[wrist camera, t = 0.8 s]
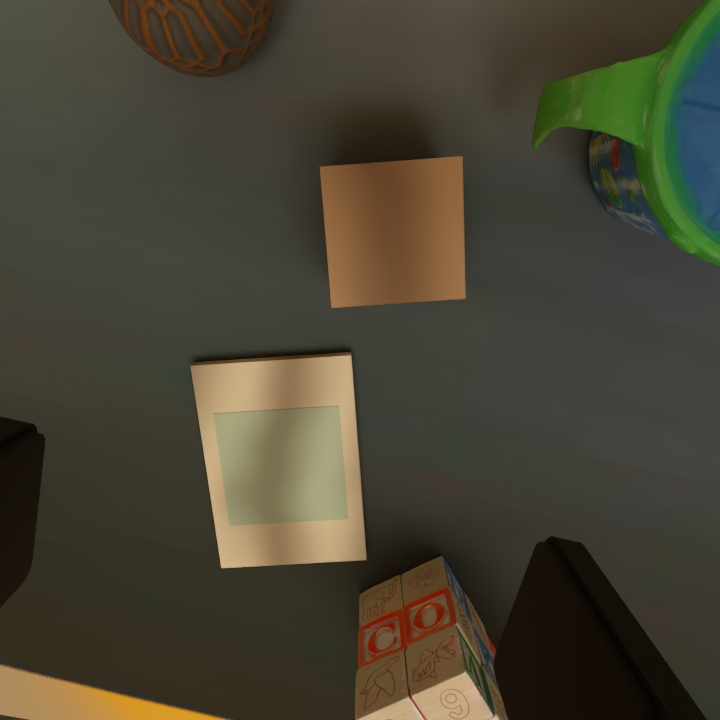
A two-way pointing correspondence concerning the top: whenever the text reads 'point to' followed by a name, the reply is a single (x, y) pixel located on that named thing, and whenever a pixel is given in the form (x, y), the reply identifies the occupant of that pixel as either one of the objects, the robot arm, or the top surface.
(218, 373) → the beige flat rectangular piece
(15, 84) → the top surface
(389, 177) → the teak cube
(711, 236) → the snack cup
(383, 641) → the stack of blocks
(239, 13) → the vase
